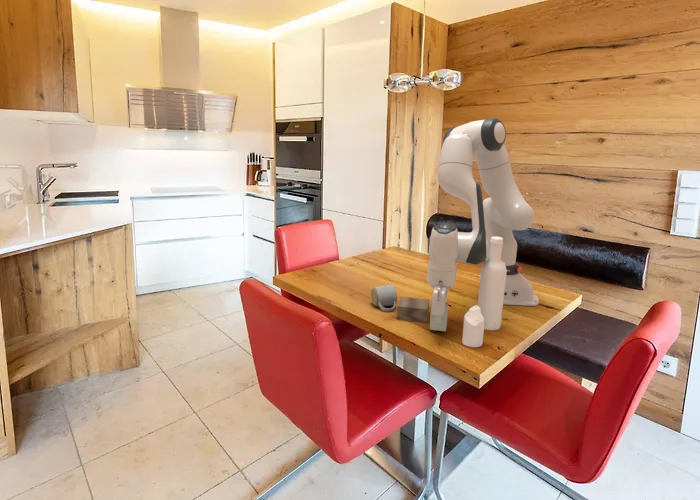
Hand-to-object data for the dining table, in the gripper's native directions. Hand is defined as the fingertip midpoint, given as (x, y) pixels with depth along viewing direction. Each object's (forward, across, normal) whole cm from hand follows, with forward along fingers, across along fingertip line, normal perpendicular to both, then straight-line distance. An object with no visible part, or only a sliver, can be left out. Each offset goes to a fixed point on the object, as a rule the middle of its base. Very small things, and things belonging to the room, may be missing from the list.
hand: (438, 318), depth 136 cm
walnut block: (+5, +10, +9) cm, 14 cm away
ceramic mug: (+4, +15, +20) cm, 26 cm away
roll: (+4, -6, -11) cm, 13 cm away
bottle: (+5, +9, -16) cm, 19 cm away
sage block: (+3, 0, 0) cm, 3 cm away
